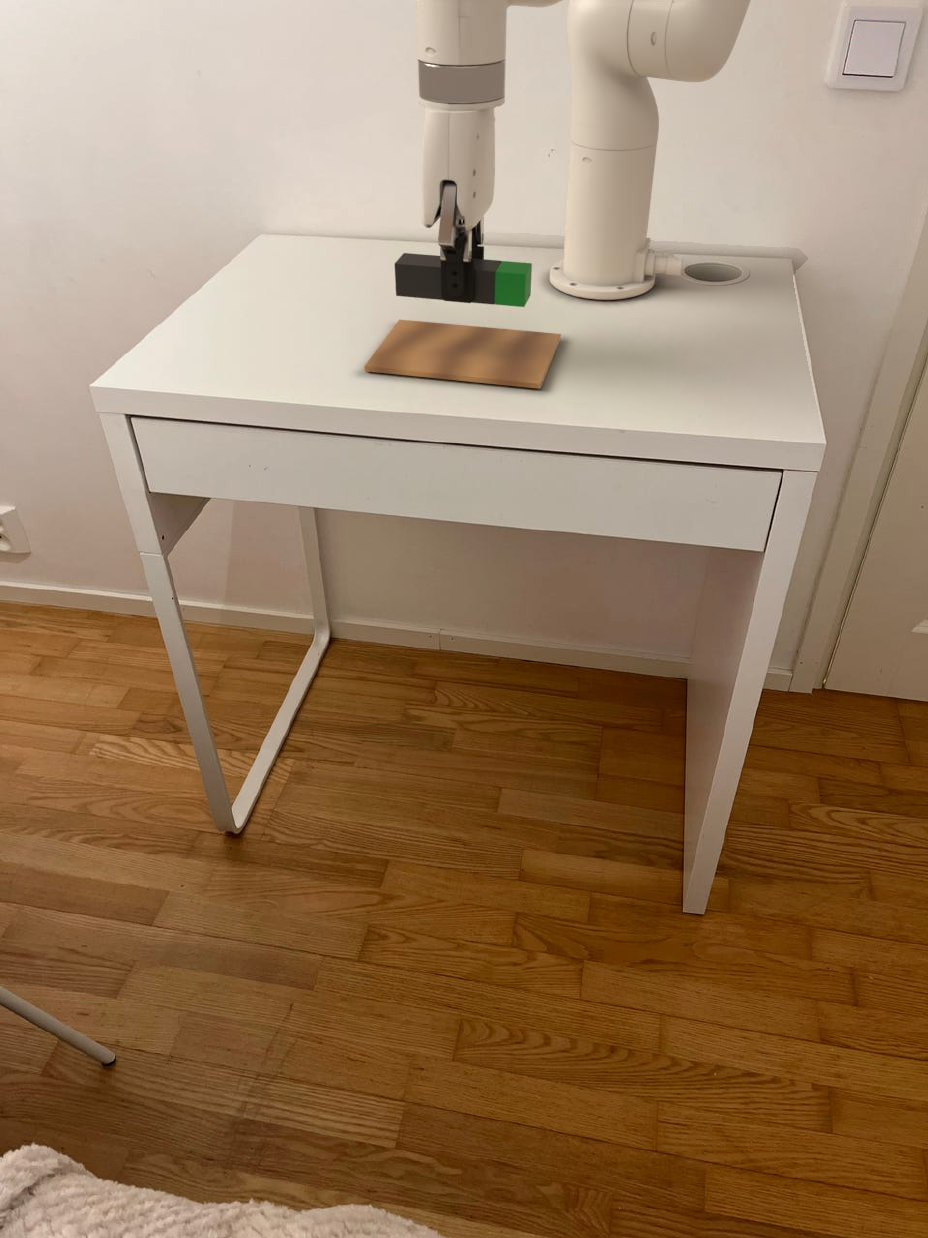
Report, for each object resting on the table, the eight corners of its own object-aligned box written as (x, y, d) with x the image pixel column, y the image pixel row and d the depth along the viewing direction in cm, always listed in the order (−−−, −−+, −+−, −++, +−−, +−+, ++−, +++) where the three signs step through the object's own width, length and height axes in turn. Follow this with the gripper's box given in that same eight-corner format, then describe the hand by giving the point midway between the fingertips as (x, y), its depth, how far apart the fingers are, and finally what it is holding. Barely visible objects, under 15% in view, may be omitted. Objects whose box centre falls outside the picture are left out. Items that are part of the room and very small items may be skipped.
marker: (395, 295, 93) (394, 263, 91) (405, 284, 95) (403, 252, 93) (524, 307, 91) (525, 274, 88) (530, 295, 93) (532, 262, 91)
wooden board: (560, 338, 100) (561, 333, 100) (540, 388, 91) (540, 383, 91) (399, 324, 103) (399, 319, 103) (364, 371, 94) (364, 365, 94)
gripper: (444, 64, 88) (447, 263, 100) (392, 100, 76) (402, 321, 87) (522, 68, 87) (516, 268, 98) (482, 104, 74) (480, 329, 86)
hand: (462, 291), depth 93 cm, fingers closed on marker, 3 cm apart
